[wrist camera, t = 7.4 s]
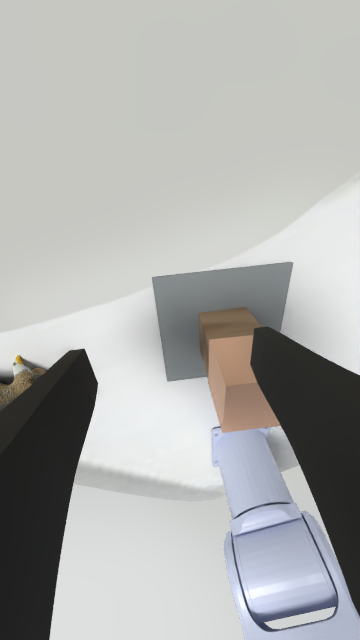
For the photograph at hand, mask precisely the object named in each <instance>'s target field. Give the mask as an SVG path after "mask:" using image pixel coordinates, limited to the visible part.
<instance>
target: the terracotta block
mask: <svg viewBox="0 0 360 640" xmlns="http://www.w3.org/2000/svg"><path fill="white" fill-rule="evenodd" d="M252 343H253V335H249V336H239V337H229V338H219V339H210V340H209V372H208V383H209V387H210V391H211V394H212V398H213V401H214V405H215V409H216V412H217V416H218V419H219V423H220V426H221V430H222V433H227V432H234V431H242V430H250V429H258V428H265V427H273V426H281V425H280V423H279V421H278V420H277V418H276V416H275V414H274V412H273V411H272V409H271V407H270V405H269V403H268V402H267V400H266V398H265V396H264V394H263V393H262V391H261V389H260V387H259V385H258V383H257V381H256V378H255V376H254V373H253V370H252V368H251V365H250V360H251V352H252Z"/></svg>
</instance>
